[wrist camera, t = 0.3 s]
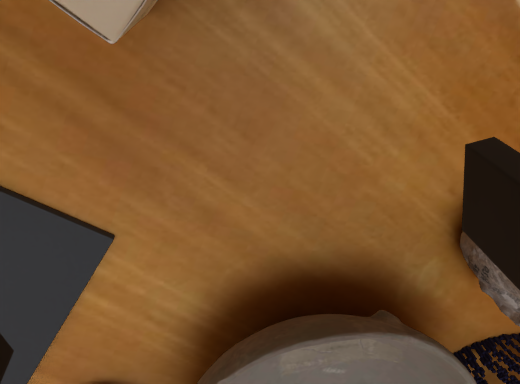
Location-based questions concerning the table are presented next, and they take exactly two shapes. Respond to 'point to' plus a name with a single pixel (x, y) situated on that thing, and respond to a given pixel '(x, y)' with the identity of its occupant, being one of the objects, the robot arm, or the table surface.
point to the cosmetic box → (106, 15)
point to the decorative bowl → (486, 358)
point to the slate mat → (40, 276)
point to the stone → (492, 279)
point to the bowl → (338, 354)
